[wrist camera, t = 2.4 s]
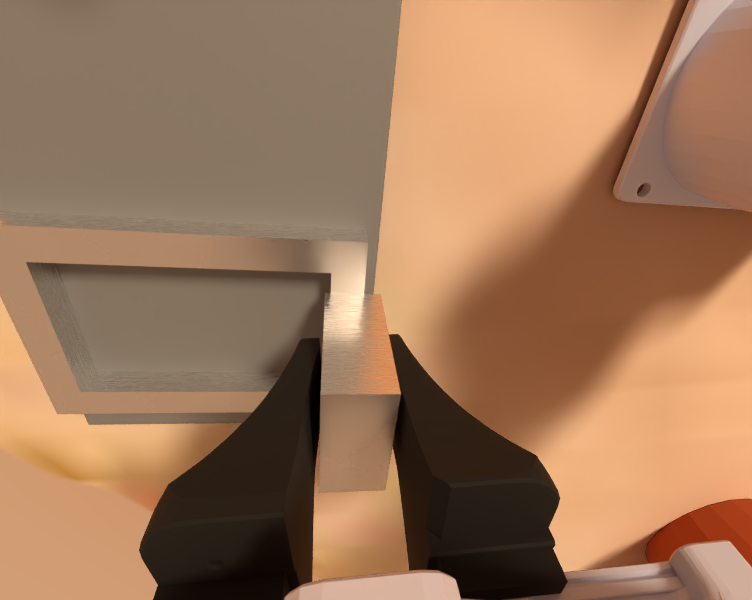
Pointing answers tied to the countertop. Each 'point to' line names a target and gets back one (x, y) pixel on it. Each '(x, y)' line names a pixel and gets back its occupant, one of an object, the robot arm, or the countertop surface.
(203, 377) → the beige open rectangular frame
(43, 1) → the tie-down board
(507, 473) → the robot arm
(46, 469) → the countertop surface
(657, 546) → the potted plant
